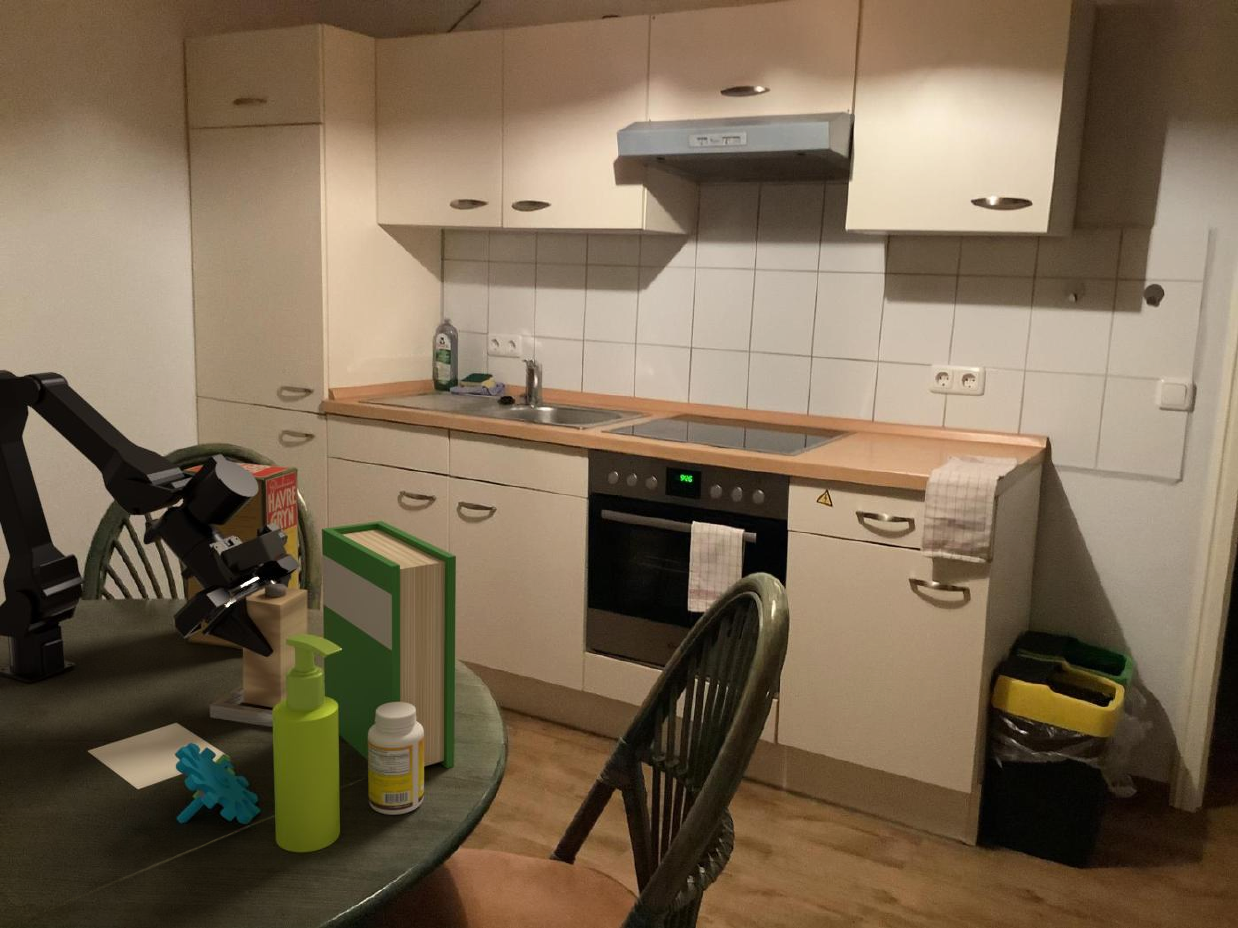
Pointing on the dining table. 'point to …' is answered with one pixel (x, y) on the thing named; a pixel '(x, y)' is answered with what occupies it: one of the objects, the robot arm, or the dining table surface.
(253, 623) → the robot arm
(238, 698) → the pocket
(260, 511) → the food packaging
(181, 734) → the beige flat slab
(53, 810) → the dining table surface
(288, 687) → the soap dispenser
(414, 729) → the supplement bottle
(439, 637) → the hardback book
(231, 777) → the gear
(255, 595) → the block
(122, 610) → the dining table surface
